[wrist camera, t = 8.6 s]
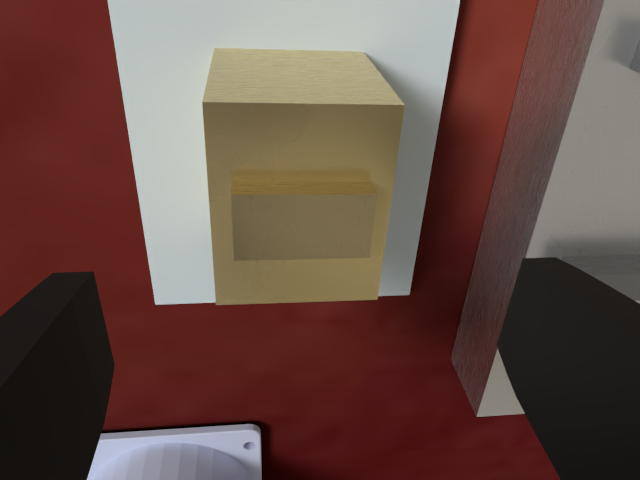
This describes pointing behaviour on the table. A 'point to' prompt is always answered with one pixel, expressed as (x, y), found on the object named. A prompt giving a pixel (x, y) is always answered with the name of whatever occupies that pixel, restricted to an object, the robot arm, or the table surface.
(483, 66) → the table surface
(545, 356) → the robot arm
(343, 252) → the wooden block with pad
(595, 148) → the grey piece
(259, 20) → the mat
